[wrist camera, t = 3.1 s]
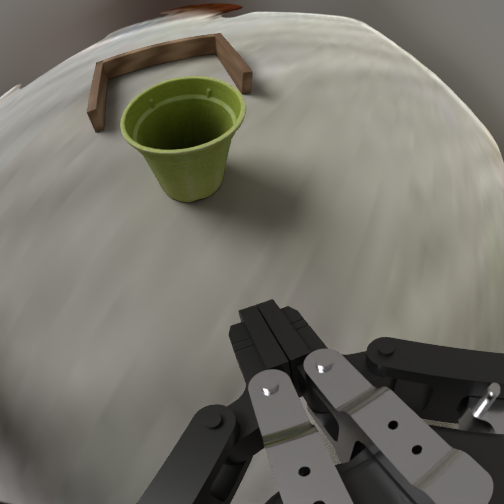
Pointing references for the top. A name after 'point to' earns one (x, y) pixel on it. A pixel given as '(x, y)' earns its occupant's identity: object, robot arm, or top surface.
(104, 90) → the wooden u bracket
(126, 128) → the plant pot
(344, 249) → the top surface
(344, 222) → the top surface
